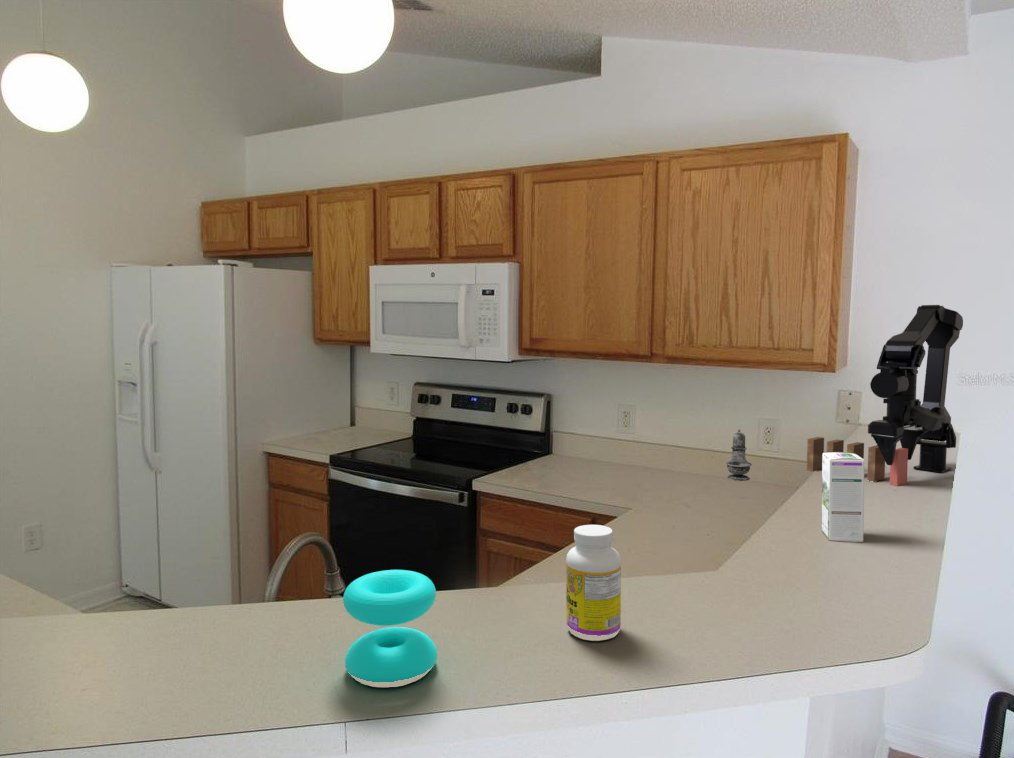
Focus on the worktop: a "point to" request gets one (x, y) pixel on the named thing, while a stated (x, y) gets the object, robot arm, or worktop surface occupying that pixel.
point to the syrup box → (842, 496)
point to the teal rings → (390, 604)
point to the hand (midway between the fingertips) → (899, 462)
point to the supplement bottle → (593, 582)
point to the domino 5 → (899, 467)
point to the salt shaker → (738, 459)
